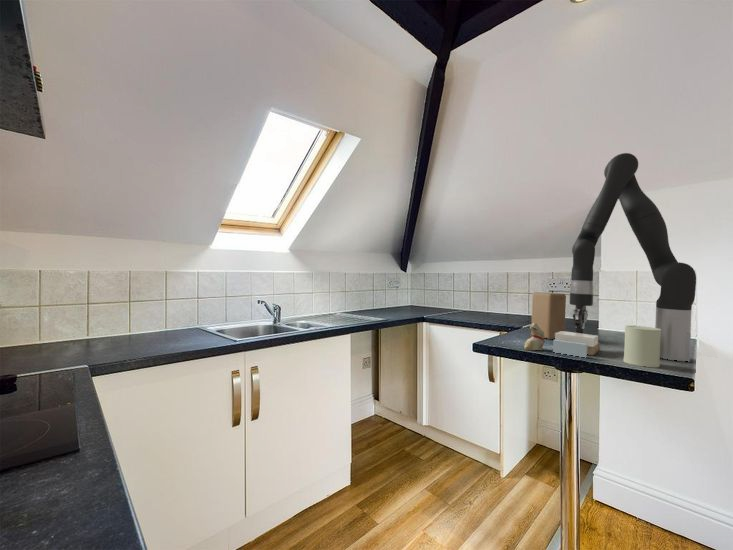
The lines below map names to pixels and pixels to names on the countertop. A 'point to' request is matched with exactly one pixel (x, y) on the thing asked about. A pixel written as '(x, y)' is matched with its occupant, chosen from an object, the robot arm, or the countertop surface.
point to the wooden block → (549, 312)
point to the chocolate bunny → (535, 339)
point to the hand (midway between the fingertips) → (579, 338)
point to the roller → (590, 350)
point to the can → (642, 346)
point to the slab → (577, 338)
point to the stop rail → (570, 348)
